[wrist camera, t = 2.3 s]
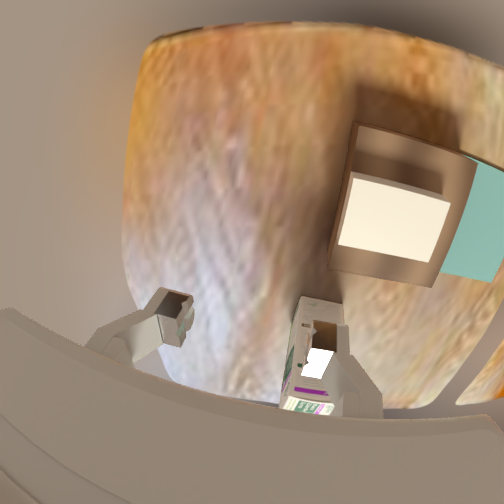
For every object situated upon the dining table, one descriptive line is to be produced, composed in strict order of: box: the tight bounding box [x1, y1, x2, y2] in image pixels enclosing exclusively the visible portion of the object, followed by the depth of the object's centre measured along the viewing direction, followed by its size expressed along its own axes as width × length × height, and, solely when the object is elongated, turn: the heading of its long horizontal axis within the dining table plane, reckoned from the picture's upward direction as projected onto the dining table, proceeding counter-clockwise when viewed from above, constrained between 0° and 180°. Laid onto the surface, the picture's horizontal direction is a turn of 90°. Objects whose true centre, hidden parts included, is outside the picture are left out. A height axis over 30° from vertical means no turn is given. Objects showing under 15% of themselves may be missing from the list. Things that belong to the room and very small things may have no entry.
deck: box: [327, 121, 478, 288], centre depth 25 cm, size 12×14×4 cm
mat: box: [439, 155, 504, 282], centre depth 24 cm, size 12×14×1 cm
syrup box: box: [279, 296, 344, 415], centre depth 30 cm, size 6×6×14 cm
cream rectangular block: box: [337, 171, 451, 262], centre depth 22 cm, size 9×6×2 cm, turn 86°
